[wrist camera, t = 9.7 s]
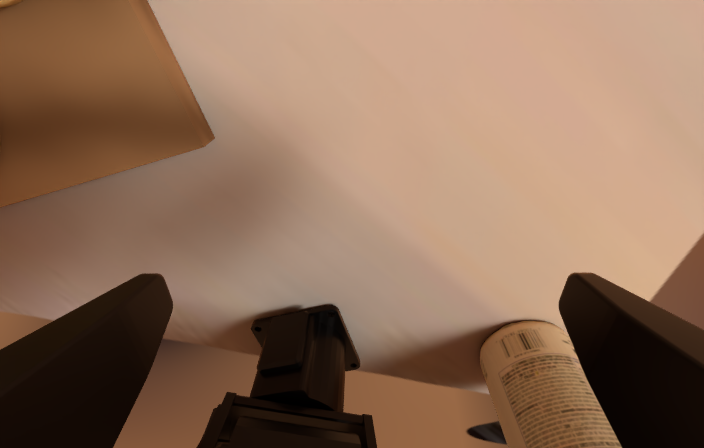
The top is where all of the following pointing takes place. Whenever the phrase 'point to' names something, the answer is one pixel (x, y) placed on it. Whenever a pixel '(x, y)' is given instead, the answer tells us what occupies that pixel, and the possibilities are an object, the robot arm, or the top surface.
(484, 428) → the top surface
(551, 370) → the spray can
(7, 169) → the board
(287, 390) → the robot arm
